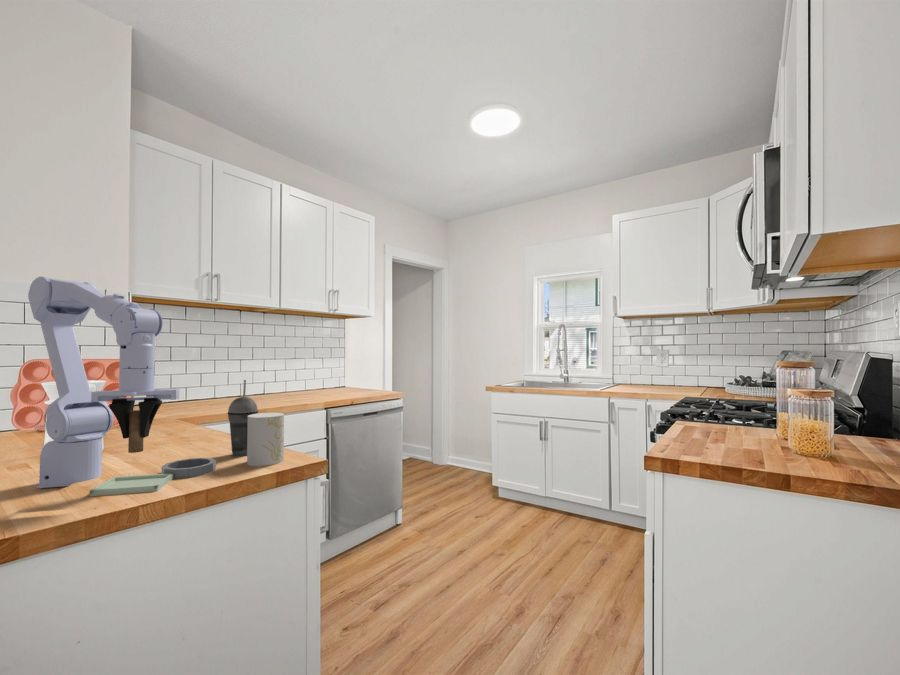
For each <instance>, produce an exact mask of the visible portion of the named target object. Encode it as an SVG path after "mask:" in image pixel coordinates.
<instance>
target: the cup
mask: <svg viewBox="0 0 900 675" xmlns="http://www.w3.org/2000/svg"><path fill="white" fill-rule="evenodd" d="M284 456H285V413H282V412H260V413H259V412H258V414H252V415H248V425H247V456H246V460H247V461H246V464H247V465H248V466H252V467H268V466H274V465H278V464H281V463H284V460H285V457H284Z"/></svg>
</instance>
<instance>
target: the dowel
mask: <svg viewBox="0 0 900 675" xmlns="http://www.w3.org/2000/svg"><path fill="white" fill-rule="evenodd" d="M140 425H141V418H140V410H139V409H136V410H135V409H133V411H129V438H128V445H127V447H128V448H127V449H128V450H127V452H128V453H129V454H134V453H135V454H136V453H141V452H143V451H144V438H141V437H140Z"/></svg>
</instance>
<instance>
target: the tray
mask: <svg viewBox="0 0 900 675" xmlns="http://www.w3.org/2000/svg"><path fill="white" fill-rule="evenodd" d="M173 480H174V473H167V474H161V473H155V474H154V473H153V474H141V475H138V474H137V475H125V476H113V477H112V478H110V479H108V480H106V481H104V482H103V483H101V484H99V485H97V486H95V487H93V488H92V489H90V490H89V497H97V496H98V497H99V496H110V495H111V496H112V495H124V494H137V493H149V492H151V493H152V492H159V491H160V490H162V488H164V487H165V486H167V484H168V483H170V482H171V481H173Z"/></svg>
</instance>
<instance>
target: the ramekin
mask: <svg viewBox="0 0 900 675" xmlns="http://www.w3.org/2000/svg"><path fill="white" fill-rule="evenodd" d="M216 469H217V460H216V459H214V458H211V457H195V458H194V457H193V458H183V459H180V460H179V459H177V460H174V461H170V462H166V463H165V464H163V465H161V473H160V474H167V473H174V479H175V480H176V479H186V478H187V479H189V478H195V477H200V476H205V475H208V474H210V473H213V472H214V471H215V470H216ZM174 479H173V480H174Z"/></svg>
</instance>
